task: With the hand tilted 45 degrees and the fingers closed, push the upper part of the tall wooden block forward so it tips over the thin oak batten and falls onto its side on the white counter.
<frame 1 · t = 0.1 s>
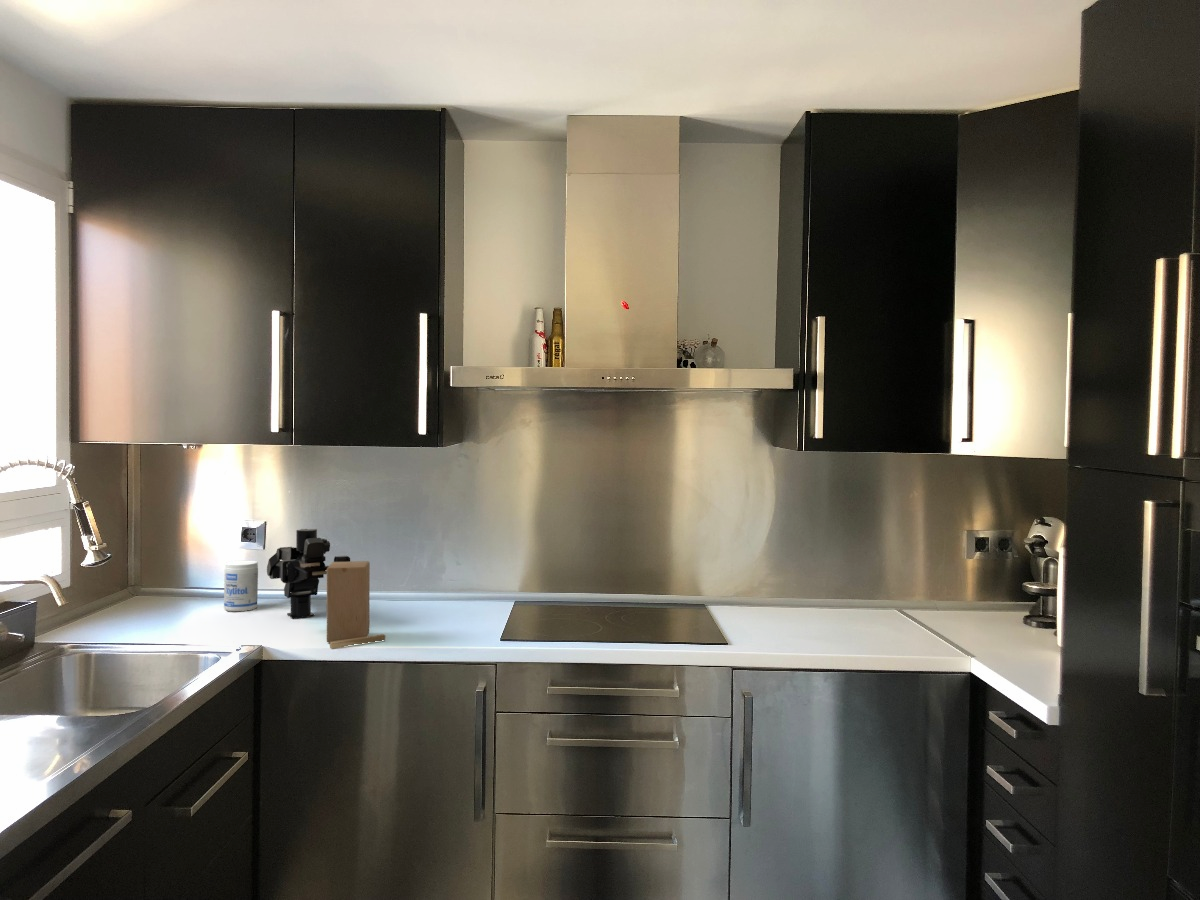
hand: (324, 573, 213), 17 cm above the countertop, tool horizontal, fingers open, 9 cm apart
wooden block: (348, 638, 209), on the countertop
supplement tub: (241, 609, 243), on the countertop
oak batten: (357, 644, 203), on the countertop
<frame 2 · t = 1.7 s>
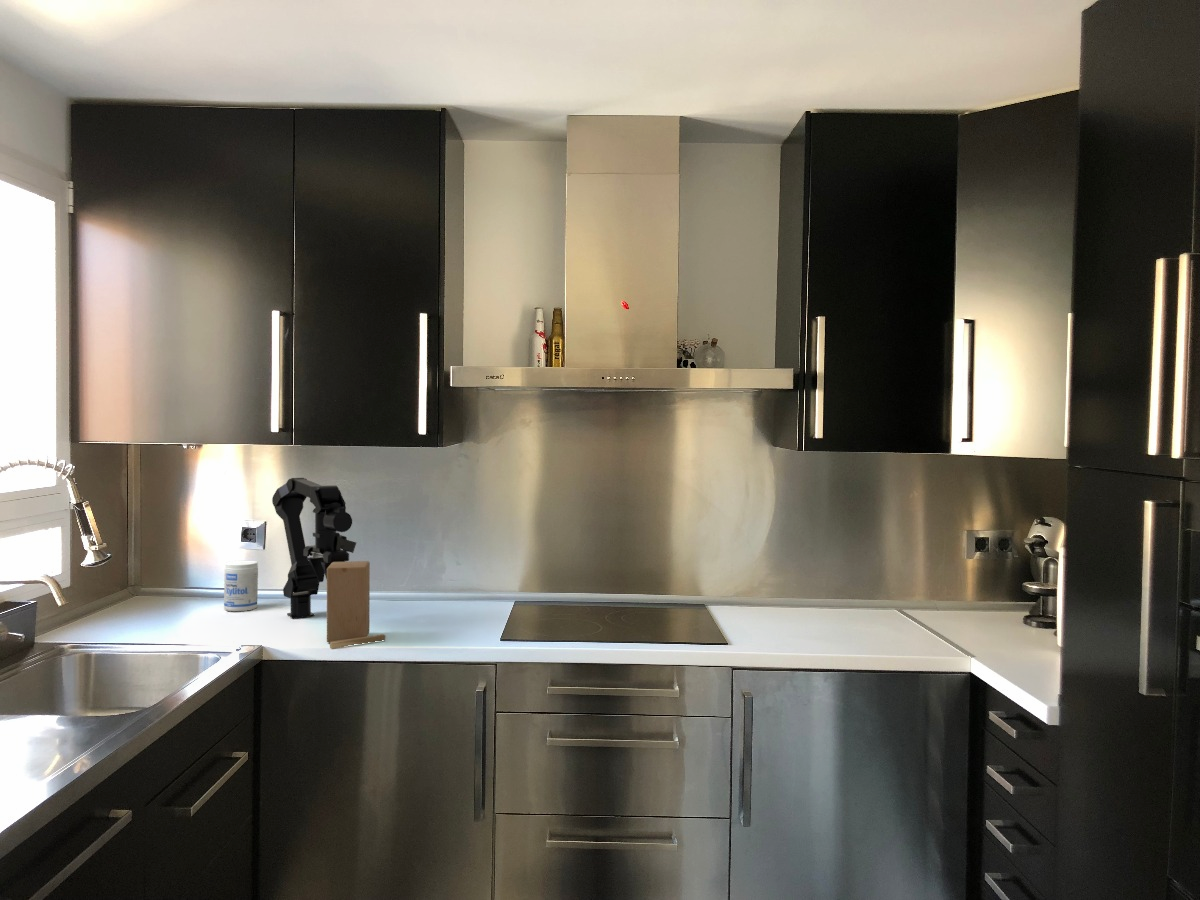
hand: (325, 583, 223), 12 cm above the countertop, tool pointing down, fingers open, 6 cm apart
nothing on the countertop moved.
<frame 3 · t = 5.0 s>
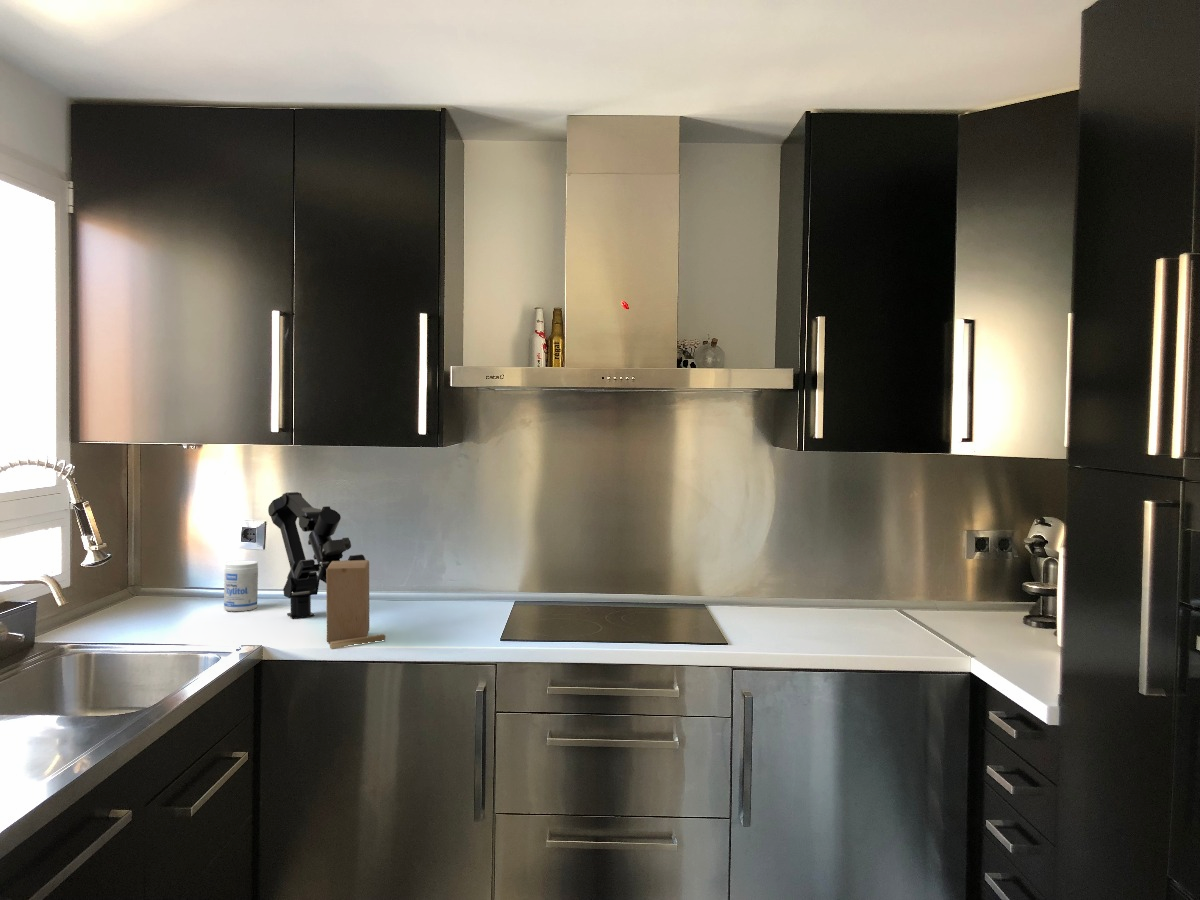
hand: (339, 591, 213), 12 cm above the countertop, tool tilted 45°, fingers closed
wooden block: (348, 638, 209), on the countertop, touching gripper
everything else where it was.
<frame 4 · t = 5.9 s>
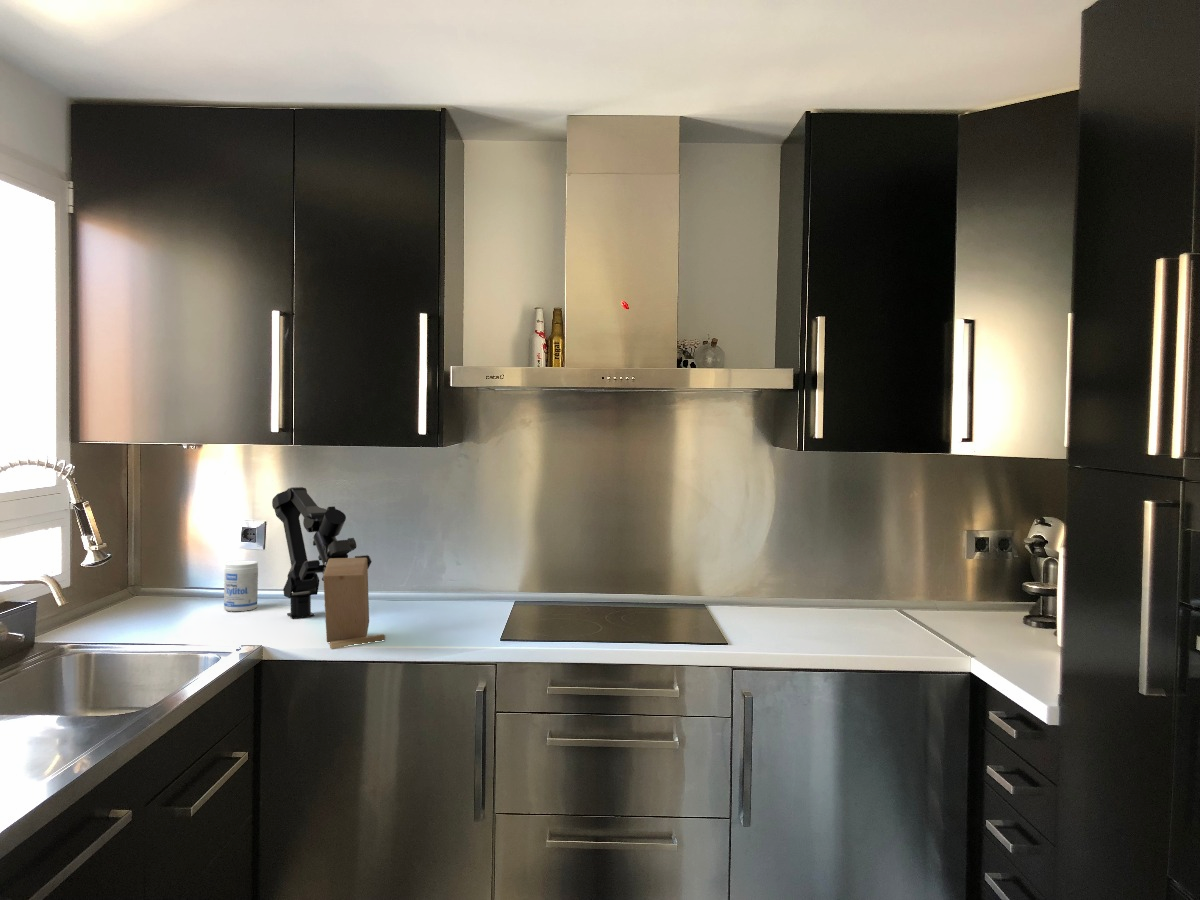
hand: (345, 592, 210), 12 cm above the countertop, tool tilted 45°, fingers closed
wooden block: (348, 633, 209), point 1 cm above the countertop
everything else where it was.
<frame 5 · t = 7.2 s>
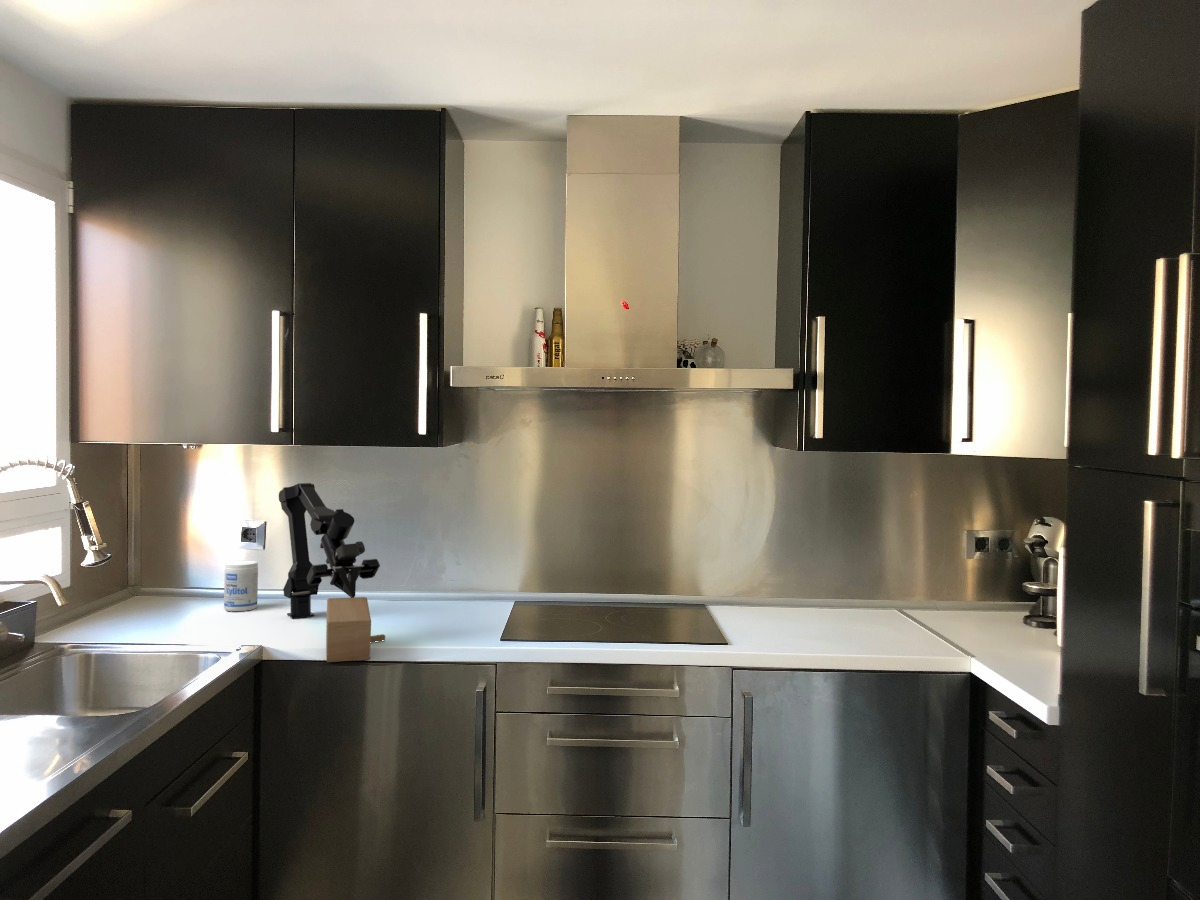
hand: (353, 596, 207), 12 cm above the countertop, tool tilted 45°, fingers closed
wooden block: (346, 615, 205), point 7 cm above the countertop, touching oak batten
everything else where it was.
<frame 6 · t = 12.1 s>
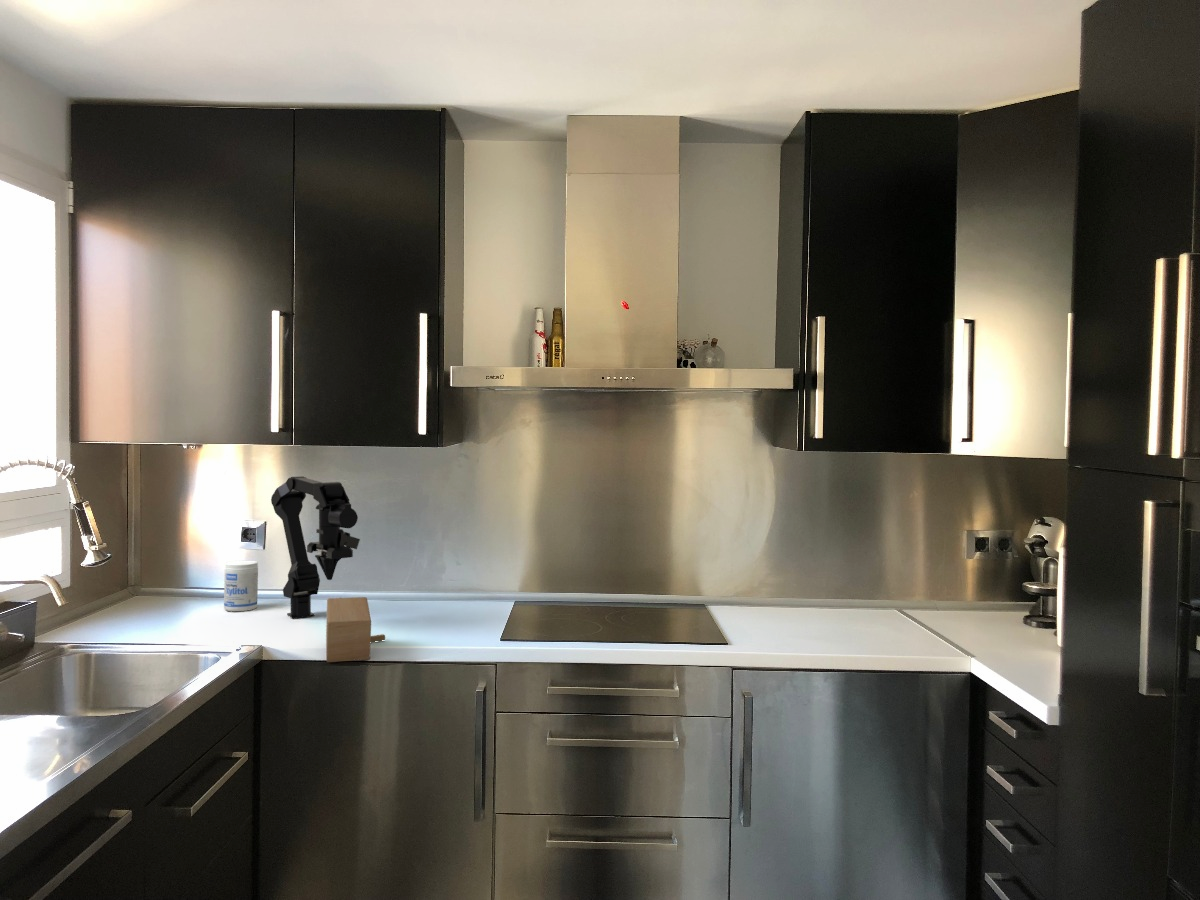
hand: (329, 579, 223), 13 cm above the countertop, tool pointing down, fingers closed
nothing on the countertop moved.
at the end: wooden block tilted 95°; wooden block moved 8.1 cm from its start; wooden block inside the target area (15.0 cm from its centre), point 7.0 cm above the countertop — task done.
